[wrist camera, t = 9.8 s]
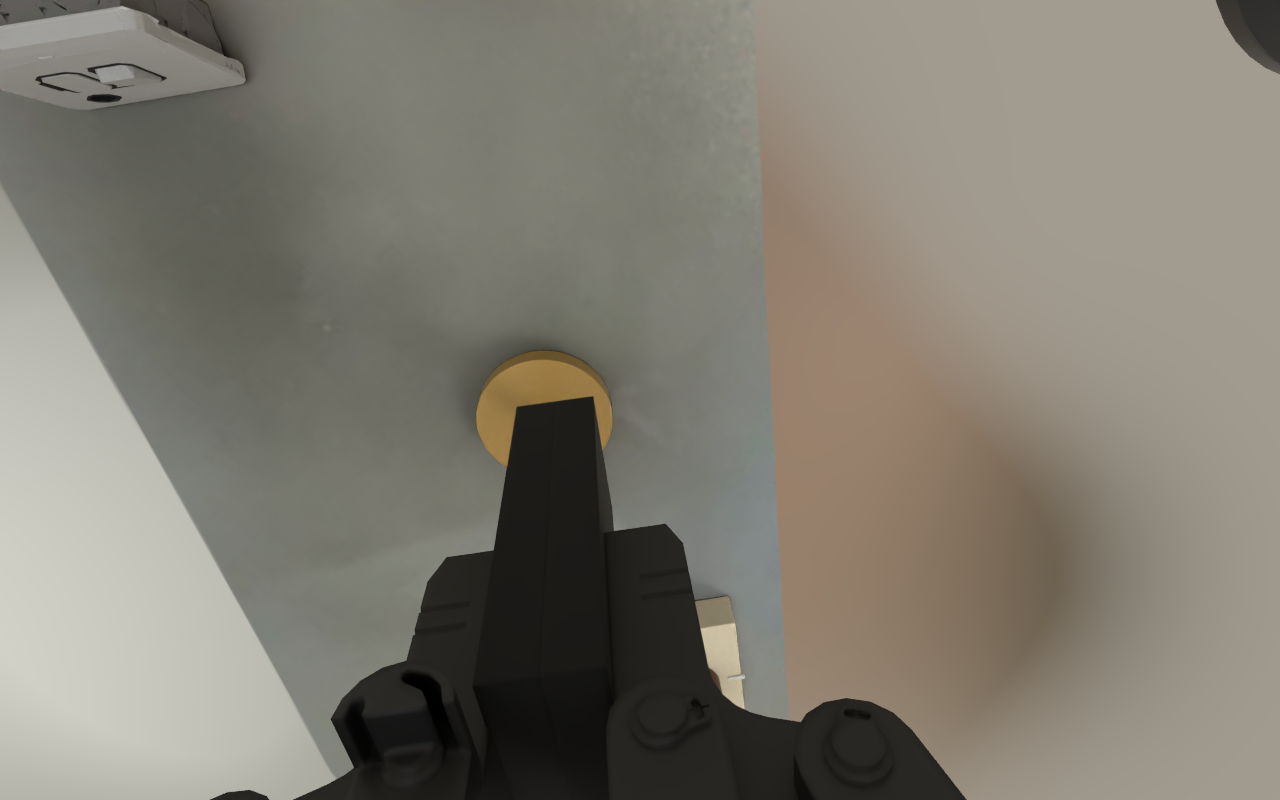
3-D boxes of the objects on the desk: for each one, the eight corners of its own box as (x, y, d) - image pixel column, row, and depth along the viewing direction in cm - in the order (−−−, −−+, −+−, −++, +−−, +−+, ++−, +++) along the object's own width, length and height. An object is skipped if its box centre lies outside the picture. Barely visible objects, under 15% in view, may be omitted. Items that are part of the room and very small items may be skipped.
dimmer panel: (731, 595, 57) (739, 623, 54) (742, 694, 63) (750, 724, 60) (627, 612, 57) (630, 641, 54) (647, 709, 63) (650, 741, 60)
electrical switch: (82, 112, 37) (-69, 111, 29) (35, 2, 35) (-142, -33, 27) (255, 83, 37) (156, 74, 29) (219, -28, 36) (100, -73, 27)
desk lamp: (599, 339, 46) (621, 649, 23) (621, 454, 50) (657, 813, 27) (463, 362, 46) (349, 694, 23) (496, 475, 50) (427, 851, 27)
